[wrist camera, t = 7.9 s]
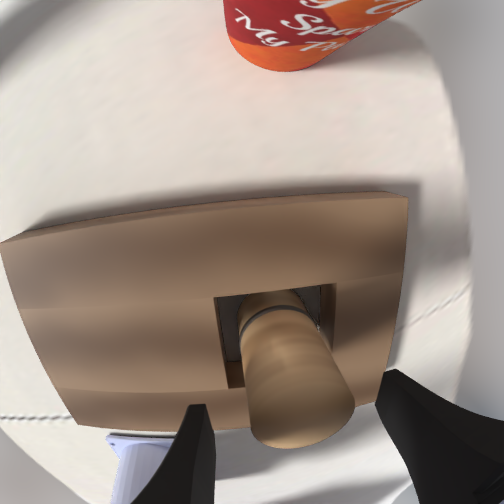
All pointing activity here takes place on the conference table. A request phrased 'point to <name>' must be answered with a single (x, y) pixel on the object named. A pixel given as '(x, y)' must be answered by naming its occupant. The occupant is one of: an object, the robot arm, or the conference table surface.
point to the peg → (289, 373)
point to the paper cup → (300, 28)
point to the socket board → (202, 299)
